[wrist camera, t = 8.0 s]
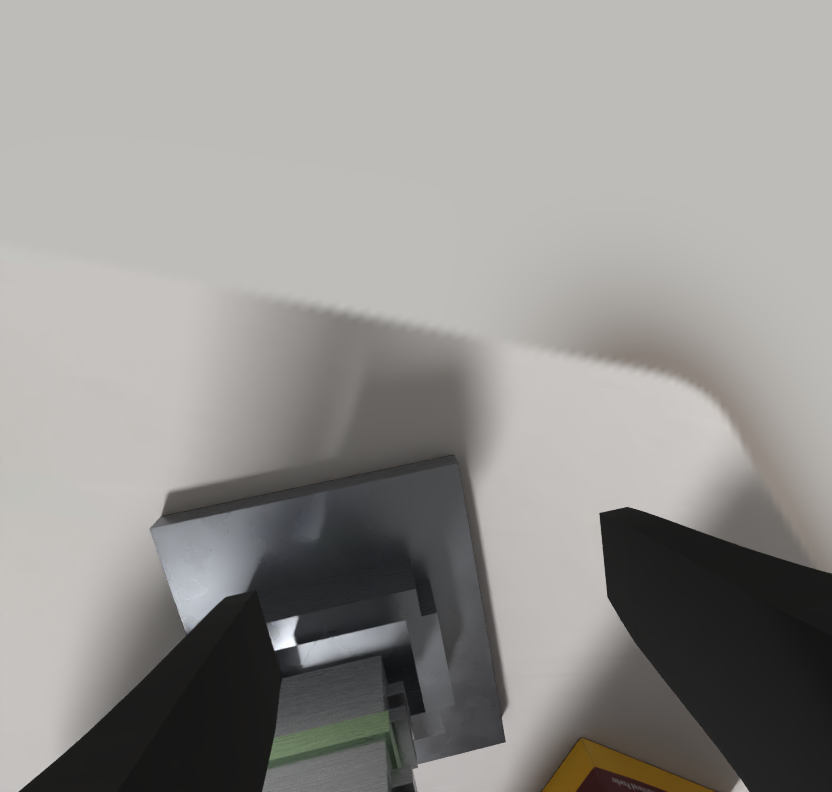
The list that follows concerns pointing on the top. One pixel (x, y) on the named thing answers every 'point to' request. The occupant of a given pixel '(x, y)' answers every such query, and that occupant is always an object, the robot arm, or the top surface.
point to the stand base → (356, 588)
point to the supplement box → (613, 773)
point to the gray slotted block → (342, 732)
